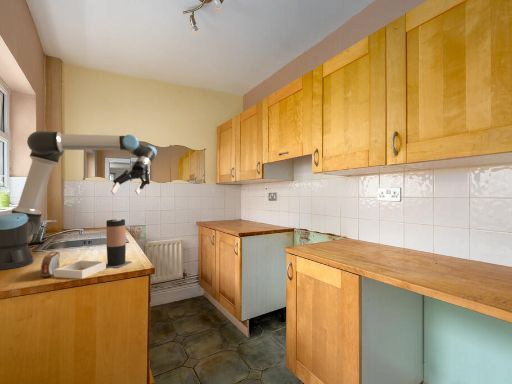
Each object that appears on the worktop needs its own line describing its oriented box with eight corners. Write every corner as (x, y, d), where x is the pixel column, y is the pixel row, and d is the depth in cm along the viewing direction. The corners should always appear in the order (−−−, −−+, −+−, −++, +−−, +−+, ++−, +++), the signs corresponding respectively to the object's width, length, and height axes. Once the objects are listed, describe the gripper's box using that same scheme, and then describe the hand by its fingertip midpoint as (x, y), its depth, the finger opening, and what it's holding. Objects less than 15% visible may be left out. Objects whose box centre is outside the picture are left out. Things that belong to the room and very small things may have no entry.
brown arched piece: (52, 269, 112) (52, 249, 112) (61, 268, 113) (61, 249, 113) (40, 280, 98) (39, 258, 98) (50, 279, 100) (49, 257, 100)
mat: (100, 267, 114) (100, 266, 114) (114, 261, 123) (114, 260, 123) (118, 268, 112) (118, 267, 112) (131, 262, 121) (131, 261, 121)
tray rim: (54, 277, 102) (53, 269, 101) (80, 267, 114) (80, 260, 114) (82, 278, 100) (82, 270, 100) (106, 268, 112) (105, 261, 112)
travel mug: (111, 267, 112) (110, 221, 112) (103, 264, 117) (103, 220, 117) (129, 263, 118) (128, 219, 118) (121, 260, 123) (120, 218, 123)
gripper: (164, 170, 148) (149, 197, 133) (124, 171, 152) (106, 197, 137) (159, 160, 143) (143, 187, 128) (118, 161, 146) (98, 187, 132)
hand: (124, 192), depth 132 cm, fingers open, 13 cm apart
